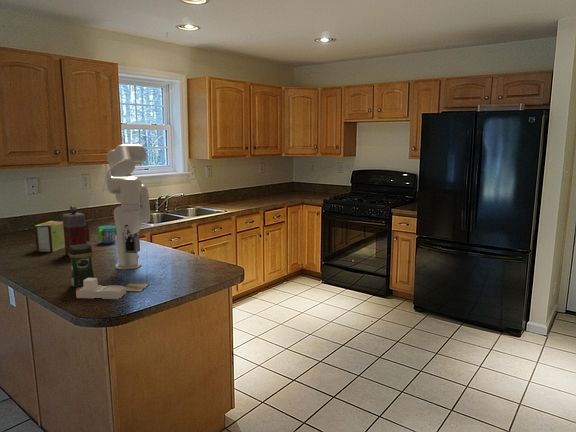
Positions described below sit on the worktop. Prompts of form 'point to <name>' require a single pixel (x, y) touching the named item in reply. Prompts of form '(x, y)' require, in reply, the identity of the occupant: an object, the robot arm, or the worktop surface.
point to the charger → (136, 244)
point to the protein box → (49, 236)
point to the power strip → (99, 290)
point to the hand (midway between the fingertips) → (132, 248)
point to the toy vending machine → (75, 229)
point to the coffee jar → (80, 264)
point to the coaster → (135, 287)
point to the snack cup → (107, 234)
